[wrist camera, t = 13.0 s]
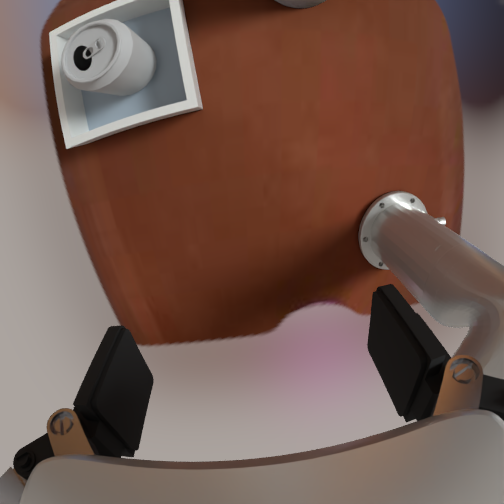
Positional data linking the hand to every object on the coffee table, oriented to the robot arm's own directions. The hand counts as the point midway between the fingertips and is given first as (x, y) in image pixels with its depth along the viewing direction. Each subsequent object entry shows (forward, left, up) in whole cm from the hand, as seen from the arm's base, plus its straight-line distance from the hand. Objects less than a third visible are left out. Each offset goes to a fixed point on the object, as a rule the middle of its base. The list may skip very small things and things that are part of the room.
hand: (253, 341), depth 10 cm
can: (+10, -17, -29) cm, 35 cm away
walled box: (+10, -18, -29) cm, 35 cm away
